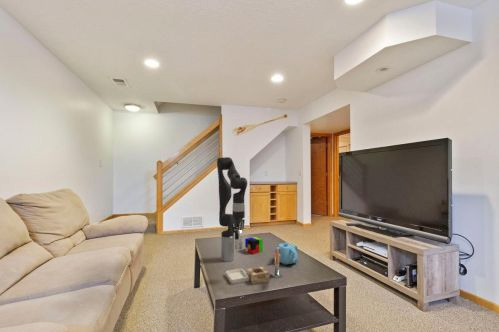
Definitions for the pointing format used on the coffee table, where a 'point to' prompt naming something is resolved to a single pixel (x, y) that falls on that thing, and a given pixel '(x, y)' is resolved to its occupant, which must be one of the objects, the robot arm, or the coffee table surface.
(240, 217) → the robot arm
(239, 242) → the silver metal cylinder
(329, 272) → the coffee table surface
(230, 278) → the tray
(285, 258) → the decorative pot
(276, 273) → the pivot post
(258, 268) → the block
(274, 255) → the bar
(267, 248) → the coffee table surface
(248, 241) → the puzzle toy
